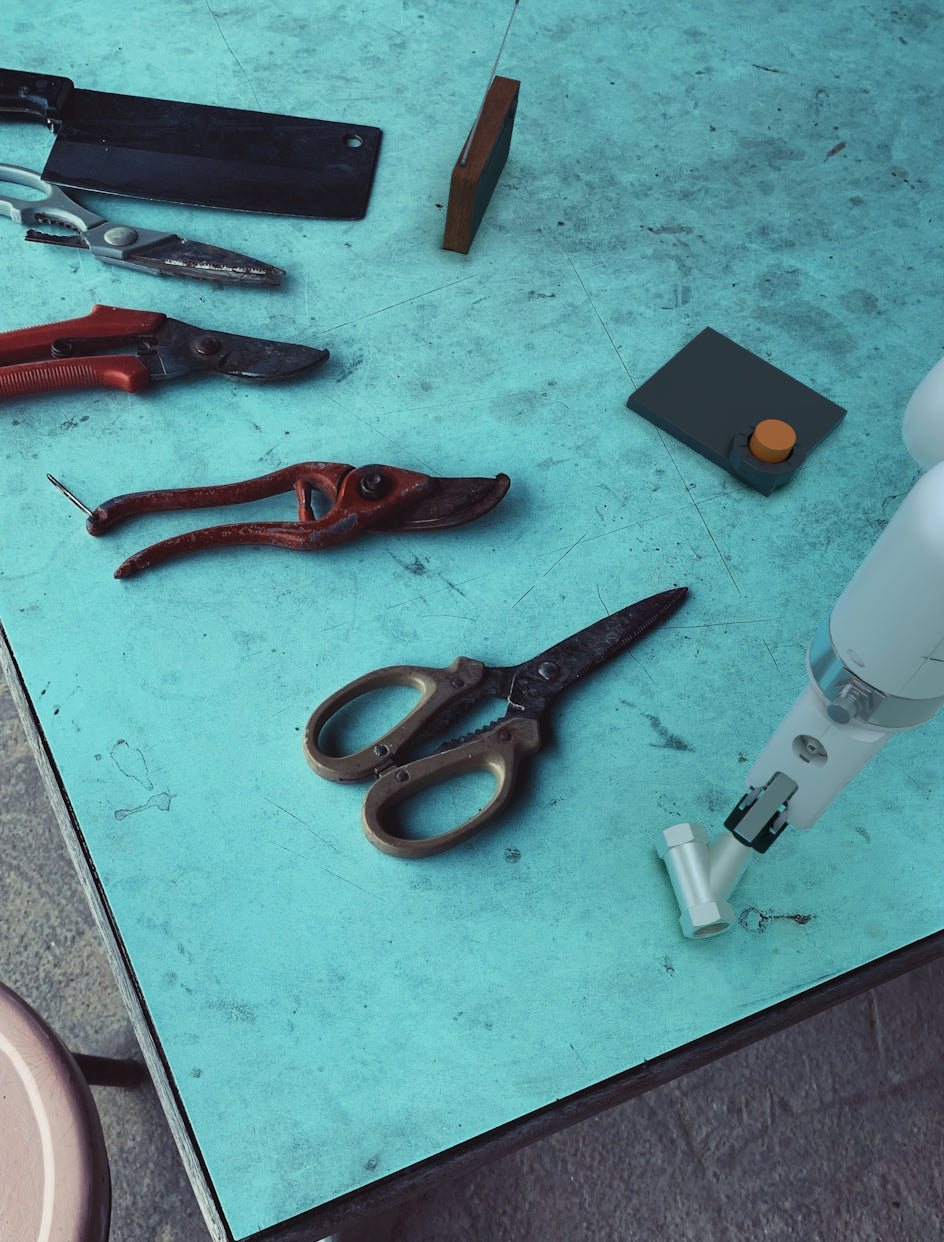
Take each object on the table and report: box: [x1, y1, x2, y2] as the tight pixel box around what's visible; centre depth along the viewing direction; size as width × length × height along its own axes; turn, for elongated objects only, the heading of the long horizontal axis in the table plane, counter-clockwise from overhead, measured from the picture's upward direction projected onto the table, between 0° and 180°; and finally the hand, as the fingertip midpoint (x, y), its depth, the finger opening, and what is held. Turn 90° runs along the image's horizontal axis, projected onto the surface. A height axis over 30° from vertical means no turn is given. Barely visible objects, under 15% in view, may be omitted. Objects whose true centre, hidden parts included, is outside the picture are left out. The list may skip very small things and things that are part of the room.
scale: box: [625, 325, 849, 498], centre depth 112 cm, size 17×14×3 cm
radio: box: [442, 0, 522, 254], centre depth 120 cm, size 19×3×15 cm, turn 162°
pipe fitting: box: [653, 821, 755, 940], centre depth 89 cm, size 8×4×7 cm
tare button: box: [749, 420, 796, 463], centre depth 107 cm, size 4×4×2 cm
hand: (768, 809), depth 79 cm, fingers open, 4 cm apart
